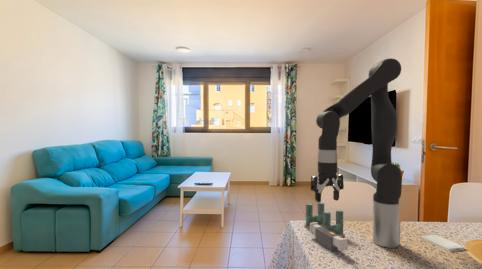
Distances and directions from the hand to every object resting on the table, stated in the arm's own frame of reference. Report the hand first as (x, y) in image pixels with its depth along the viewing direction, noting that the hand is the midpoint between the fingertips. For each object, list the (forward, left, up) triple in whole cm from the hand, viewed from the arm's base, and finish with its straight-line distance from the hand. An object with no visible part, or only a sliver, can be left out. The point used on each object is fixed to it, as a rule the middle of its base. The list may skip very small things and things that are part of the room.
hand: (327, 200), depth 103 cm
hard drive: (-46, +14, -19) cm, 52 cm away
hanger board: (-8, -13, -18) cm, 23 cm away
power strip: (0, 0, -18) cm, 18 cm away
